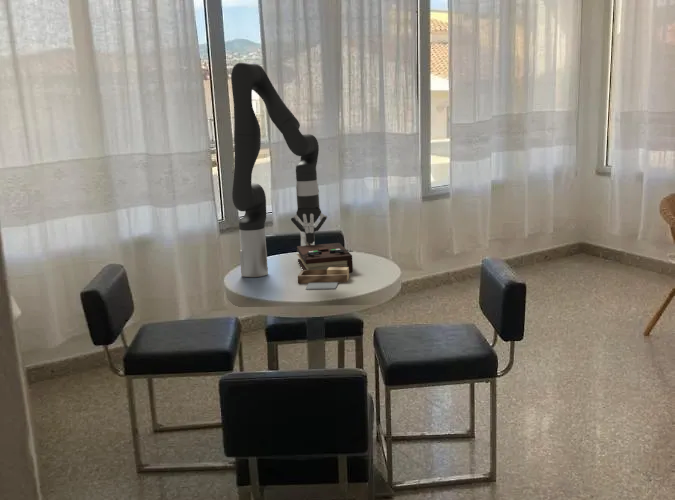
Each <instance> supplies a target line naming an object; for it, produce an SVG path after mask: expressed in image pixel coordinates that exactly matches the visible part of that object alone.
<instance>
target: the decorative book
mask: <svg viewBox="0 0 675 500" xmlns="http://www.w3.org/2000/svg"><path fill="white" fill-rule="evenodd" d="M296 251H297V253H296V255H297V257H298V259H297V263H298V262H299V263H298V265H299V264H300V265H299V266H300V268H301V267H302V268H301V270H302V269H303V270H326V269H328V268H329V267H349V274H350V273H352V272H353V273H354V266H353V265H354V264H353V255H352V254H351V253H353V252H354V251H353V250H348V249H347V248H345V247H344V246H343V245H342V243H340V242H334V243H322V244H320V243H319V244H315V245H307V246H301V245H297V246H296Z"/></svg>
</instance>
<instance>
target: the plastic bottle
mask: <svg viewBox="0 0 675 500" xmlns="http://www.w3.org/2000/svg"><path fill="white" fill-rule="evenodd" d="M298 219H299V220H298V221H299V222H300V223H301V225H302V226H303V227H304V223H303V222H302V221H301V220H300V218H298ZM304 228H305V227H304ZM309 228H310V223H309ZM299 233H300V246H307V245H316V244H315V241H314V242H313V244H308V242H307V241H306V233H305V232H301V231H300V230H299Z"/></svg>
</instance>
